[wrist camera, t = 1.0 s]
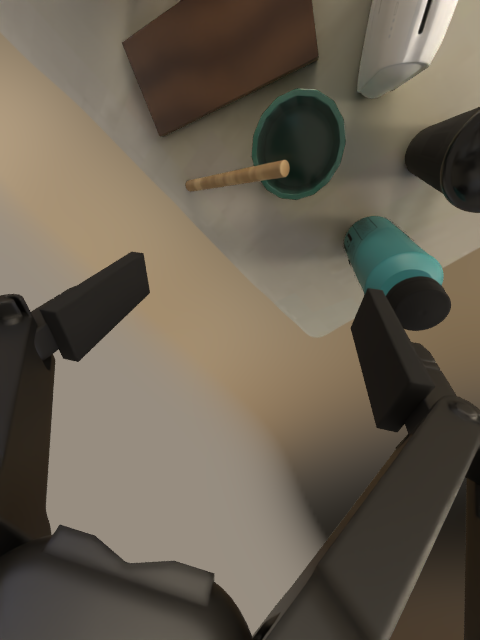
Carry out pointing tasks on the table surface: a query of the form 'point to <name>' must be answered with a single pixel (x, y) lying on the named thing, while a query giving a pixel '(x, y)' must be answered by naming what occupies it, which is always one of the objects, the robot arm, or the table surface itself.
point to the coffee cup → (300, 142)
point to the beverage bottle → (398, 272)
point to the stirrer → (241, 176)
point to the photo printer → (401, 42)
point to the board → (217, 54)
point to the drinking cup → (450, 159)
